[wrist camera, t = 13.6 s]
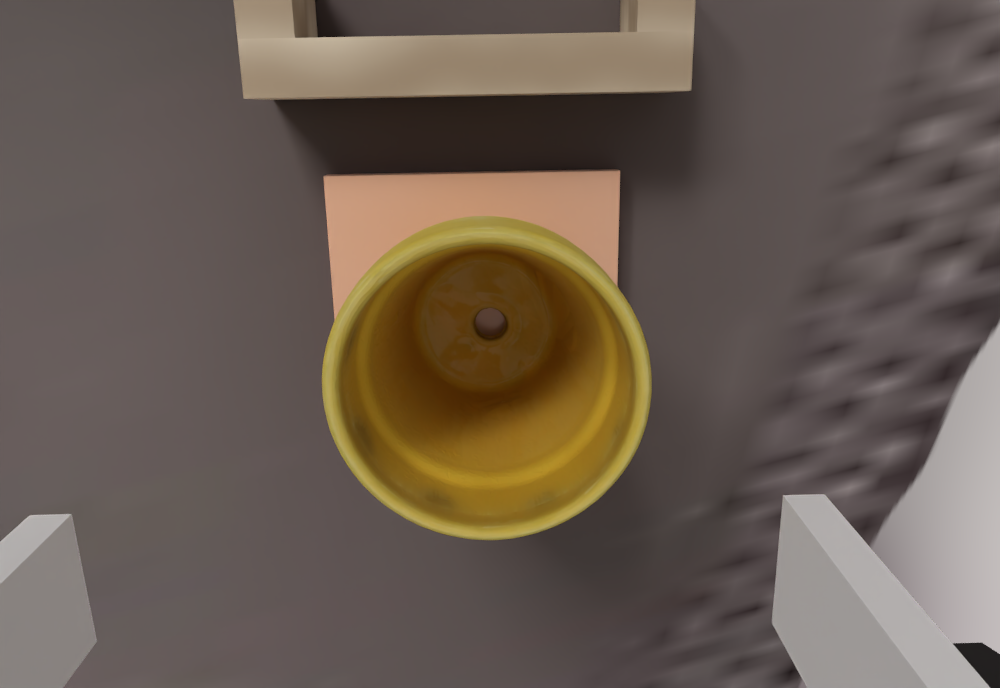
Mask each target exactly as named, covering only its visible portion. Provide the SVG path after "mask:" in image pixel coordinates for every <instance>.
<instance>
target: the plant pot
mask: <svg viewBox="0 0 1000 688" xmlns="http://www.w3.org/2000/svg"><path fill="white" fill-rule="evenodd" d="M487 308H493V309H496V310H498V311H500V312H501V313H502V315H503V316H504V319H505V326H504V329H503V330H502V331H501V332H500V333H499V334H497V335H493V336H489V335H485V334H483V333H481V332H480V331H479V330H478V328H477V326H476V317H477V315H478V313H479V312H480V311H481V310H483V309H487ZM322 392H323V402H324V409H325V413H326V417H327V421H328V425H329V429H330V432H331V434H332V436H333V439H334V441H335V444H336V446H337V448H338V450H339V452H340V454H341V456H342V457H343V459H344V460H345V462H346V464H347V465H348V467H349V468H350V469H351V471H352V472H353V474H354V475H355V476H356V477H357V479H358V480H359V481H360V482H361V483H362V485H363V486H364V487H365V488H366V489H367V490H368V491H369V492H370V493H371V494H372V495H373V496H375V497H376V498H377V499H378V500H379V501H380V502H382V503H383V504H384V505H386V506H387V507H388V508H390V509H391V510H393V511H394V512H396V513H397V514H399V515H400V516H402V517H404V518H405V519H407V520H409V521H411V522H413V523H415V524H417V525H419V526H422V527H424V528H427V529H429V530H432V531H435V532H438V533H441V534H445V535H449V536H455V537H460V538H466V539H475V540H503V539H512V538H517V537H522V536H527V535H531V534H535V533H538V532H541V531H544V530H547V529H549V528H552V527H554V526H557V525H559V524H561V523H563V522H565V521H567V520H569V519H571V518H572V517H574V516H576V515H577V514H579V513H581V512H582V511H584V510H585V509H586V508H588V507H589V506H590V505H592V504H593V503H594V502H595V501H597V500H598V499H599V498H600V497H601V496H602V495H603V494H604V493H605V492H606V491H607V490H608V489H609V488H610V487H611V486H612V485H613V484H614V483H615V482H616V481H617V479H618V478H619V477H620V476H621V474H622V473H623V472H624V470H625V469H626V467H627V466H628V464H629V463H630V461H631V459H632V458H633V456H634V454H635V452H636V450H637V448H638V446H639V444H640V441H641V439H642V436H643V433H644V430H645V427H646V423H647V419H648V415H649V410H650V402H651V393H652V375H651V366H650V357H649V352H648V348H647V344H646V341H645V338H644V335H643V332H642V329H641V326H640V324H639V322H638V320H637V318H636V316H635V314H634V312H633V310H632V308H631V306H630V304H629V303H628V301H627V300H626V298H625V297H624V295H623V294H622V293H621V291H620V290H619V288H618V287H617V286H616V284H615V283H614V282H613V281H612V279H611V278H610V277H609V275H608V274H607V273H606V272H605V271H604V270H603V269H602V268H601V267H600V266H599V265H598V264H597V263H596V262H595V261H594V260H593V259H592V258H591V257H590V256H589V255H587V254H586V253H585V252H584V251H583V250H581V249H580V248H579V247H577V246H576V245H574V244H573V243H571V242H570V241H569V240H567V239H566V238H564V237H562V236H560V235H558V234H556V233H555V232H553V231H551V230H548V229H546V228H544V227H542V226H539V225H536V224H533V223H530V222H526V221H523V220H518V219H513V218H507V217H499V216H472V217H463V218H458V219H453V220H448V221H445V222H441V223H438V224H435V225H433V226H430V227H427V228H425V229H423V230H421V231H419V232H417V233H415V234H413V235H411V236H410V237H408V238H406V239H404V240H403V241H401V242H400V243H398V244H397V245H396V246H394V247H393V248H391V249H390V250H389V251H388V252H387V253H385V254H384V255H383V256H382V257H381V258H380V259H379V260H377V261H376V262H375V263H374V264H373V265H372V266H371V268H370V269H369V270H368V271H367V272H366V273H365V274H364V275H363V276H362V278H361V279H360V280H359V281H358V283H357V284H356V285H355V287H354V288H353V290H352V291H351V293H350V294H349V296H348V297H347V299H346V301H345V302H344V304H343V305H342V307H341V309H340V311H339V313H338V315H337V317H336V319H335V321H334V324H333V326H332V329H331V332H330V335H329V338H328V342H327V345H326V349H325V355H324V360H323V370H322Z"/></svg>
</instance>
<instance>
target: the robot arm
mask: <svg viewBox="0 0 1000 688" xmlns="http://www.w3.org/2000/svg"><path fill="white" fill-rule="evenodd" d="M772 624H773V626H774V628H775V630H776V632H777V633H778V635H779V637H780V639H781V641H782V643H783V644H784V646H785V648H786V650H787V652H788V654H789V655H790V657H791V659H792V661H793V663H794V665H795V667H796V668H797V670H798V672H799V674H800V676H801V678H802V679H803V681H804V683H805V685H806V687H807V688H1000V654H998V653H997V652H995V651H994V650H992V649H991V648H989V647H988V646H986V645H984V644H983V643H958V644H957V643H956V644H952V642H951V641H950V640H949V639H948V638H947V637H946V636H945V634H944V633H943V632H942V631H941V630H940V628H939V627H938V626H937V625H936V624H935V623H934V621H932V619H931V618H930V617H929V616H928V614H927V613H926V612H925V611H924V610H923V609H922V607H921V606H920V605H919V604H918V603H917V602H916V600H915V599H914V598H913V597H912V596H911V595H910V593H909V592H908V591H907V590H906V589H905V588H904V586H903V585H902V584H901V583H900V582H899V581H898V579H897V578H896V577H895V576H894V575H893V574H892V572H891V571H890V570H889V569H888V568H887V567H886V565H885V564H884V563H883V562H882V561H881V560H880V559H879V557H878V556H877V555H876V554H875V553H874V552H873V550H872V549H871V548H870V547H869V546H868V544H867V543H866V542H865V541H864V540H863V539H862V537H861V536H860V535H859V534H858V533H857V532H856V530H855V529H854V528H853V527H852V526H851V525H850V523H849V522H848V521H847V520H846V519H845V518H844V516H843V515H842V514H841V513H840V512H839V511H838V509H837V508H836V507H835V506H834V505H833V504H832V502H831V501H830V500H829V499H828V498H827V497H826V495H825V494H811V495H783V501H782V513H781V524H780V535H779V547H778V558H777V569H776V580H775V592H774V603H773V614H772ZM96 642H97V639H96V634H95V629H94V624H93V619H92V614H91V609H90V604H89V599H88V594H87V589H86V584H85V579H84V574H83V569H82V564H81V559H80V554H79V549H78V544H77V539H76V534H75V529H74V524H73V519H72V514H57V515H30V516H28V517H27V518H26V519H25V520H24V521H23V522H22V523H21V524H20V525H18V526H17V527H16V528H15V529H14V530H13V531H12V532H11V533H9V534H8V535H7V536H6V537H5V538H4V539H3V540H2V541H1V542H0V688H63V687H64V686H65V684H66V683H67V682H68V680H69V679H70V677H71V676H72V675H73V673H74V672H75V671H76V669H77V668H78V667H79V665H80V664H81V662H82V661H83V660H84V658H85V657H86V656H87V654H88V653H89V651H90V650H91V649H92V647H93V646H94V645H95V643H96Z"/></svg>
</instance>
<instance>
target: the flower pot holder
mask: <svg viewBox="0 0 1000 688" xmlns="http://www.w3.org/2000/svg"><path fill="white" fill-rule="evenodd" d="M234 9H235V19H236V29H237V38H238V48H239V58H240V67H241V77H242V87H243V96H244V99H265V100H292V99H348V98H404V97H460V96H516V95H572V94H627V93H671V92H682V91H691V83H692V62H693V42H694V21H695V0H620V32H602V33H545V34H488V35H430V36H373V37H318V34H317V21H316V8H315V0H234Z"/></svg>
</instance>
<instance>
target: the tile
mask: <svg viewBox="0 0 1000 688" xmlns="http://www.w3.org/2000/svg"><path fill="white" fill-rule="evenodd" d="M323 177H324V190H325V202H326V215H327V228H328V241H329V253H330V266H331V279H332V292H333V304H334V317H335V319H336V317H337V315H338V313H339V311H340V309H341V307H342V305H343V304H344V302H345V301H346V299H347V297H348V296H349V294H350V293H351V291H352V290H353V288H354V287H355V285H356V284H357V283H358V281H359V280H360V279H361V278H362V276H363V275H364V274H365V273H366V272H367V271H368V270H369V269H370V268H371V266H372V265H373V264H374V263H375V262H376V261H377V260H379V259H380V258H381V257H382V256H383V255H384V254H385V253H387V252H388V251H389V250H390V249H391V248H393V247H394V246H396V245H397V244H398V243H400V242H401V241H403V240H404V239H406V238H408V237H410V236H411V235H413V234H415V233H417V232H419V231H421V230H423V229H425V228H427V227H430V226H433V225H435V224H438V223H441V222H445V221H448V220H453V219H458V218H463V217H472V216H499V217H507V218H513V219H518V220H523V221H526V222H530V223H533V224H536V225H539V226H542V227H544V228H546V229H548V230H551V231H553V232H555V233H556V234H558V235H560V236H562V237H564V238H566V239H567V240H569V241H570V242H571V243H573V244H574V245H576V246H577V247H579V248H580V249H581V250H583V251H584V252H585V253H586V254H587V255H589V256H590V257H591V258H592V259H593V260H594V261H595V262H596V263H597V264H598V265H599V266H600V267H601V268H602V269H603V270H604V271H605V272H606V273H607V274H608V275H609V277H610V278H611V279H612V281H613V282H614V283H615V284H616V286H617V279H618V239H619V199H620V171H619V170H617V169H594V170H539V171H485V172H431V173H376V174H328V175H326V176H323ZM476 326H477V328H478V330H479V331H480V332H481V333H483V334H485V335H489V336H493V335H497V334H499V333H500V332H501V331H502V330H503V329H504V326H505V319H504V316H503V315H502V313H501V312H500V311H498V310H496V309H493V308H487V309H483V310H481V311H480V312H479V313H478V315H477V317H476Z"/></svg>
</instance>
